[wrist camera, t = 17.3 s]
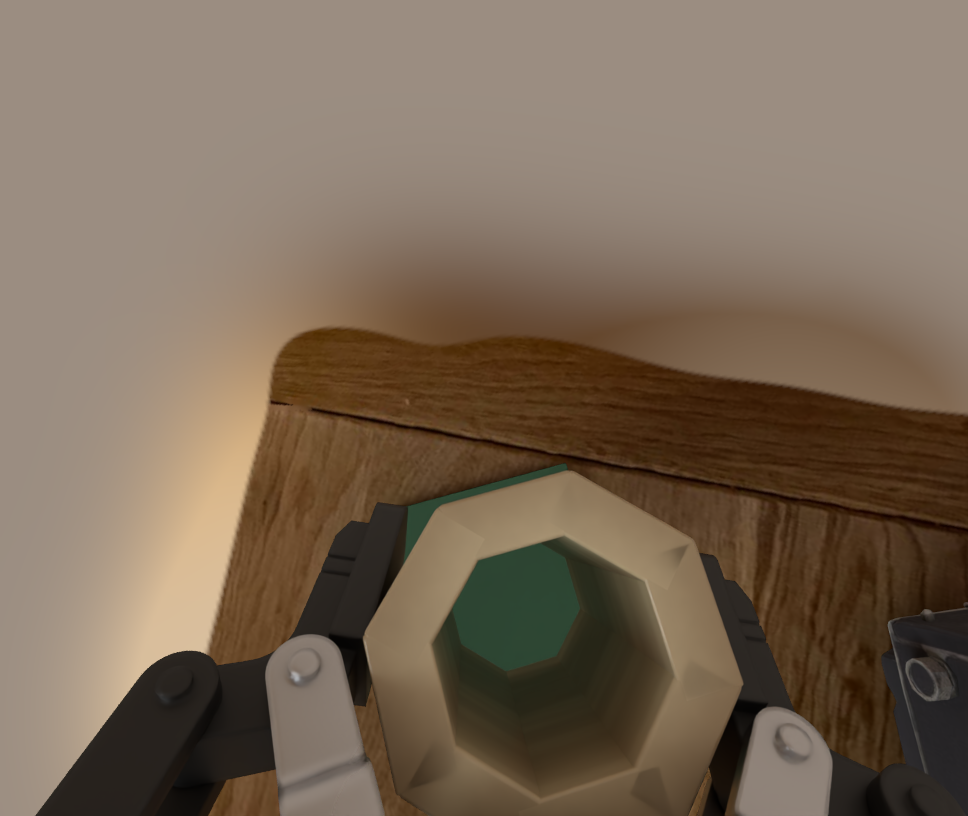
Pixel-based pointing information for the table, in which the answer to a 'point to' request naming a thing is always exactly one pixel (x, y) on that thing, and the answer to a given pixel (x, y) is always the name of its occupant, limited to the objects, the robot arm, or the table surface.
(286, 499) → the table surface
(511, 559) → the felt pad
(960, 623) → the camera
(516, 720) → the ring
